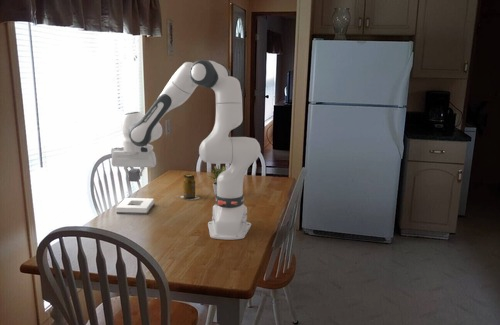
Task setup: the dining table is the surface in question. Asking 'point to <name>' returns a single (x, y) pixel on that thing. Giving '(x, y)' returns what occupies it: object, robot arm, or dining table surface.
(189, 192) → the condiment
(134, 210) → the socket
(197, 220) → the dining table surface
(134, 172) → the plug
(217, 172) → the house plant
